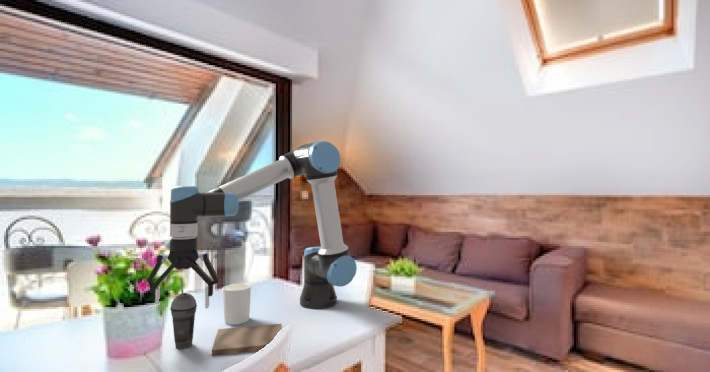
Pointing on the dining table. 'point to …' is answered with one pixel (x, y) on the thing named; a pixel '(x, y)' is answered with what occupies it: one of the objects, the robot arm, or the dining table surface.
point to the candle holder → (236, 303)
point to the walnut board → (244, 339)
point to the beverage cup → (183, 318)
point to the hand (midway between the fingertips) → (182, 308)
